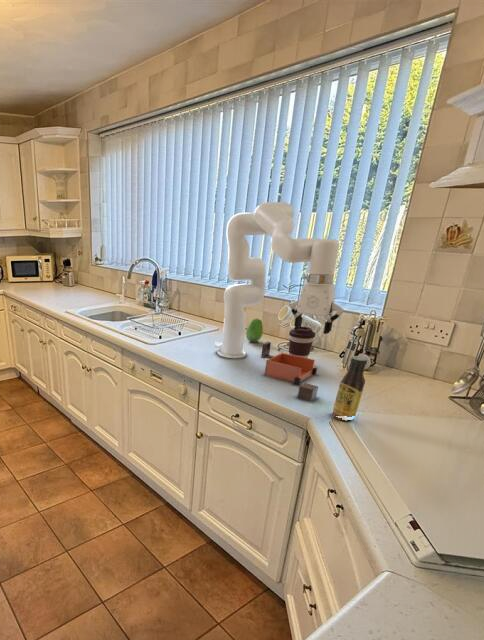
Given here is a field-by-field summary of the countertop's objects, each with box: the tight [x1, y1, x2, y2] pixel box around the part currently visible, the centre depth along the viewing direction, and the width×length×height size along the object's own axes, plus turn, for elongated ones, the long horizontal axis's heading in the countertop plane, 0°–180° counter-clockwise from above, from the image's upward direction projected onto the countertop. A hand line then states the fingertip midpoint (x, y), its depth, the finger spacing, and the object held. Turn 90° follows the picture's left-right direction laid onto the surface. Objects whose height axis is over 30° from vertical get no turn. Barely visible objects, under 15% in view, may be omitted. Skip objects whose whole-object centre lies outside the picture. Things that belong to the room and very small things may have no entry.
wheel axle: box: [293, 367, 318, 387], centre depth 151 cm, size 2×16×3 cm, turn 134°
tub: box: [260, 341, 316, 384], centre depth 155 cm, size 18×13×11 cm
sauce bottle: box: [332, 355, 368, 422], centre depth 118 cm, size 6×6×20 cm
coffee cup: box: [288, 326, 316, 359], centre depth 167 cm, size 10×10×15 cm
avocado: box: [245, 318, 264, 343], centre depth 197 cm, size 8×8×12 cm
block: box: [297, 382, 319, 403], centre depth 135 cm, size 4×4×4 cm
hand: (311, 330), depth 134 cm, fingers open, 9 cm apart
